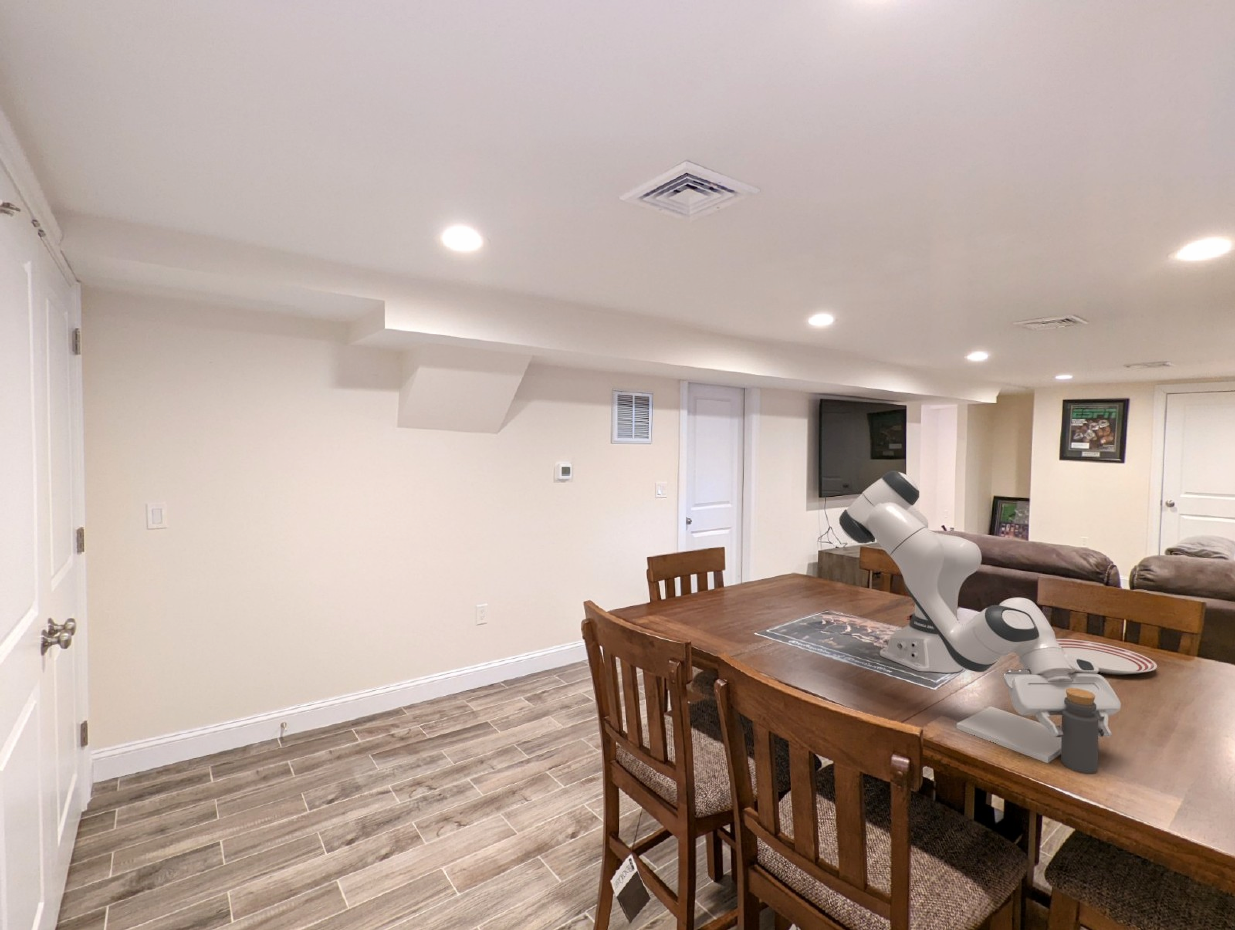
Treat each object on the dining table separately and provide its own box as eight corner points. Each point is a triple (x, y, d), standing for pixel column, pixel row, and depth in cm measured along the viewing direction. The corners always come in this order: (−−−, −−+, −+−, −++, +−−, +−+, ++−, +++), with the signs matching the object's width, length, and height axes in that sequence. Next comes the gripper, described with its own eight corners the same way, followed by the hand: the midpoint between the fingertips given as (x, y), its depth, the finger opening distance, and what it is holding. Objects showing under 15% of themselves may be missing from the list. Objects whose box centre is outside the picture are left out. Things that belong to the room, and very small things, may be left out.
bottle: (1053, 759, 122) (1054, 687, 122) (1080, 757, 123) (1081, 686, 122) (1078, 774, 116) (1079, 699, 116) (1105, 773, 117) (1107, 698, 116)
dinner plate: (1110, 649, 188) (1110, 638, 188) (1183, 683, 161) (1184, 671, 161) (1018, 646, 191) (1019, 636, 191) (1076, 680, 164) (1076, 668, 164)
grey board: (956, 728, 136) (956, 723, 136) (990, 711, 144) (990, 706, 144) (1047, 763, 121) (1047, 757, 121) (1078, 741, 130) (1079, 735, 130)
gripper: (1006, 663, 126) (1037, 730, 117) (1103, 663, 126) (1143, 730, 116) (993, 675, 131) (1022, 741, 121) (1087, 675, 130) (1123, 741, 121)
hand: (1082, 736), depth 119 cm, fingers open, 8 cm apart
